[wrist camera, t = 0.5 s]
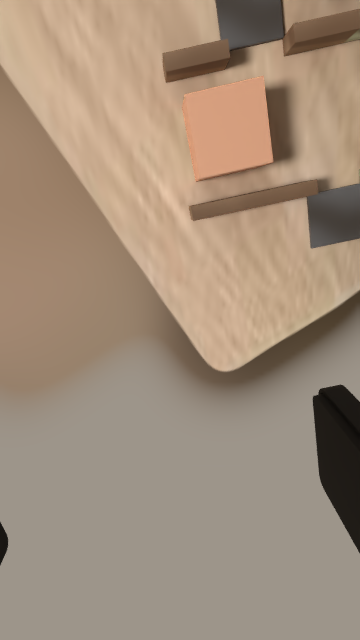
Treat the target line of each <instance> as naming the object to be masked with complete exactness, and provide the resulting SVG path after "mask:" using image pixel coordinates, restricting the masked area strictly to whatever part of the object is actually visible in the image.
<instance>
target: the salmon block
mask: <svg viewBox="0 0 360 640" xmlns="http://www.w3.org/2000/svg"><path fill="white" fill-rule="evenodd" d="M182 110H183V115H184V121H185V126H186V131H187V137H188V142H189V148H190V153H191V158H192V164H193V169H194V174H195V180H196V182H197V181H201V180H206V179H210V178H214V177H219V176H223V175H227V174H232V173H236V172H240V171H245V170H249V169H254V168H258V167H262V166H264V165H267V164H270V163H272V162H273V155H272V146H271V138H270V129H269V120H268V111H267V102H266V94H265V85H264V76H260V77H256V78H252V79H247V80H243V81H239V82H235V83H230V84H226V85H222V86H218V87H214V88H209V89H205V90H201V91H197V92H192V93H188V94H185V96H184V101H183V106H182Z"/></svg>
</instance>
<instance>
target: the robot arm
mask: <svg viewBox="0 0 360 640" xmlns="http://www.w3.org/2000/svg"><path fill="white" fill-rule="evenodd" d="M313 408H314V419H315V431H316V443H317V455H318V466H319V476H320V480H321V483H322V486H323V488H324V490H325V492H326V494H327V496H328V497H329V499H330V501H331V503H332V505H333V506H334V508H335V509H336V512H337V513H338V515H339V517H340V519H341V520H342V522H343V524H344V525H345V528H346V529H347V531H348V533H349V535H350V537H351V538H352V540H353V542H354V544H355V546H356V547H357V549H358V551H359V553H360V402H359V401H358V400H357V399H356V398H355V397H354V396H353V394H351V393H350V392H349V391H348V389H346V387H344V386H343V385H337V386H332V387H327V388H322V389H320V390H319V395H316V396H314V397H313ZM7 548H8V537H7V534H6V532H5V530H4V528H3V526H2V524H1V523H0V565H1V562H2V560H3V558H4V556H5V554H6V551H7Z"/></svg>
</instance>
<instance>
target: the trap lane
mask: <svg viewBox="0 0 360 640" xmlns="http://www.w3.org/2000/svg"><path fill="white" fill-rule="evenodd" d="M215 1H216V8H217V15H218V23H219V30H220V38H221V40H220V41H215V42H211V43H206V44H202V45H198V46H193V47H189V48H184V49H180V50H175V51H171V52H167V53H163V69H164V75H165V80H166V83H167V82H171V81H176V80H180V79H185V78H189V77H194V76H198V75H203V74H207V73H211V72H216V71H220V70H225V68H226V66H227V64H228V61H229V59H230V51H231V50H236V49H240V48H245V47H249V46H254V45H258V44H262V43H267V42H271V41H276V40H280V39H283V49H284V56H287V55H292V54H296V53H301V52H305V51H310V50H314V49H319V48H323V47H327V46H332V45H336V44H341V43H345V42H350V41H354V40H359V39H360V9H357V10H352V11H348V12H343V13H339V14H335V15H330V16H326V17H321V18H317V19H313V20H308V21H304V22H299V23H295V24H293V25H292V27H291V28H290V29H289V31H288V32H287V34H286V35H285V36H284V33H283V21H282V9H281V0H215ZM359 174H360V170H359ZM303 197H307V205H308V218H309V232H310V245H311V248H316V247H321V246H326V245H330V244H335V243H340V242H345V241H349V240H354V239H359V238H360V184H355V185H350V186H346V187H341V188H336V189H332V190H327V191H322V192H318V184H317V180H310V181H304V182H300V183H295V184H291V185H286V186H281V187H277V188H272V189H267V190H263V191H258V192H253V193H249V194H244V195H239V196H235V197H230V198H226V199H221V200H216V201H212V202H207V203H202V204H198V205H193V206H189V210H190V215H191V220H193V221H195V220H200V219H204V218H209V217H214V216H219V215H223V214H228V213H233V212H237V211H242V210H247V209H251V208H256V207H261V206H265V205H270V204H275V203H279V202H284V201H289V200H293V199H298V198H303Z"/></svg>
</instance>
